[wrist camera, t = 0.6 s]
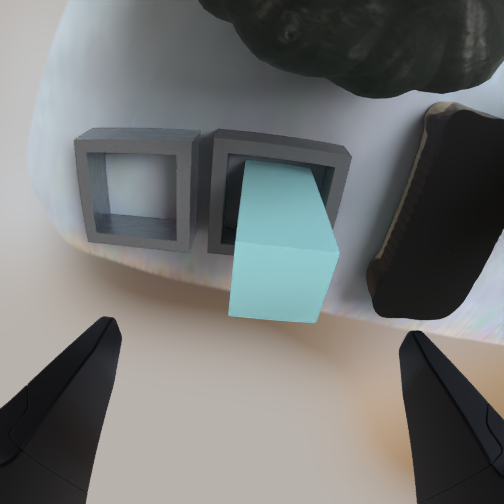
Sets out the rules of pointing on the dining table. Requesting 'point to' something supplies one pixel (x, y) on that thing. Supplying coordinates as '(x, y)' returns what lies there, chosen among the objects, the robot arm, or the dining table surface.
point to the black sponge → (443, 217)
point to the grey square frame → (271, 147)
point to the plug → (281, 245)
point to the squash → (374, 41)
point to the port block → (132, 227)
